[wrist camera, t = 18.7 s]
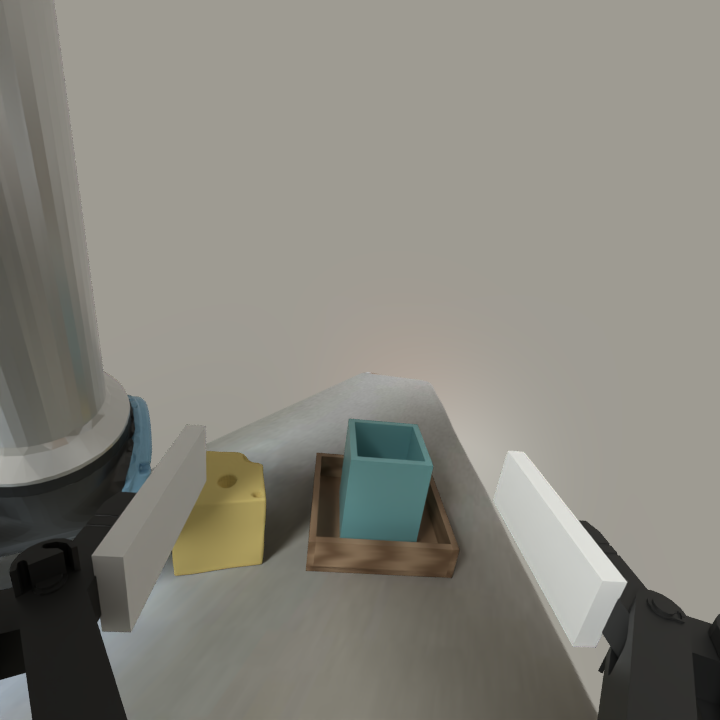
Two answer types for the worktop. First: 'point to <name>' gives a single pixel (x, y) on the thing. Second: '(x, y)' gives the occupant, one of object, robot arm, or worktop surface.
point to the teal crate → (383, 481)
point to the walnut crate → (366, 556)
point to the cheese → (224, 518)
